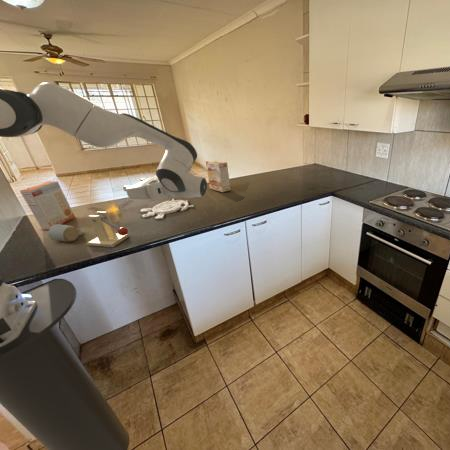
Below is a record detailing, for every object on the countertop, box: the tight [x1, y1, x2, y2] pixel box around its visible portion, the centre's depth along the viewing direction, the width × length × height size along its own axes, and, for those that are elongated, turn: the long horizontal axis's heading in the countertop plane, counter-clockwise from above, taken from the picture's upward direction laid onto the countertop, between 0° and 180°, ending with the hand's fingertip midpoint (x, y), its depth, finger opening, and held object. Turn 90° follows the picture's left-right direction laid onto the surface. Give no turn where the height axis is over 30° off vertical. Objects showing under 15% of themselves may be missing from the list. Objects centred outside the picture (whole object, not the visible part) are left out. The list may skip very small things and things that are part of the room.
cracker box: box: [19, 180, 76, 230], centre depth 124 cm, size 14×6×21 cm, turn 178°
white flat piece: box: [140, 198, 195, 220], centre depth 145 cm, size 21×28×1 cm
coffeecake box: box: [205, 159, 231, 193], centre depth 170 cm, size 15×7×20 cm, turn 53°
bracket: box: [87, 210, 129, 248], centre depth 110 cm, size 12×9×14 cm
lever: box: [95, 213, 129, 235], centre depth 108 cm, size 14×4×4 cm
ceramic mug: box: [47, 224, 84, 243], centre depth 113 cm, size 11×8×8 cm
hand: (133, 184), depth 97 cm, fingers open, 8 cm apart
